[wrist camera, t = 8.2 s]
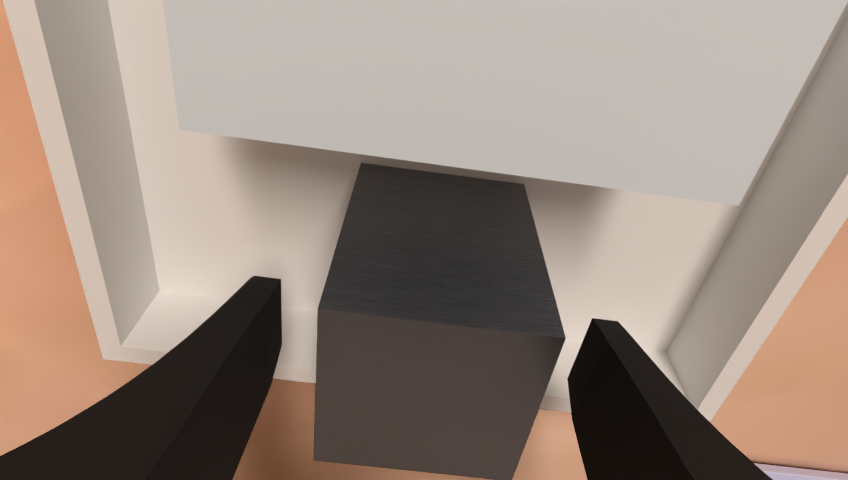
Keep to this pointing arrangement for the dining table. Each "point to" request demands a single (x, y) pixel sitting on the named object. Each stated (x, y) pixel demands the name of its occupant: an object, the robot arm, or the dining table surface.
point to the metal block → (434, 326)
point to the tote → (337, 171)
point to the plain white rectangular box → (508, 83)
